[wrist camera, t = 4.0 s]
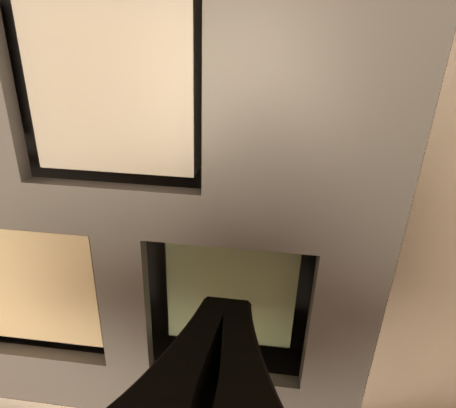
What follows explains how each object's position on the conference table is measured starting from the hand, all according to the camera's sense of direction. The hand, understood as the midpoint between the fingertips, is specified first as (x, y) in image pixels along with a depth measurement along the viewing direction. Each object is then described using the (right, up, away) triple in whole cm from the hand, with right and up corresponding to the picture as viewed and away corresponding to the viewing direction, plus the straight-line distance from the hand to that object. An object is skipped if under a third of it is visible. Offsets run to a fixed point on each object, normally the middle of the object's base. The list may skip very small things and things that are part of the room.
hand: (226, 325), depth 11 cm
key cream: (-3, +7, 0) cm, 8 cm away
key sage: (0, +1, +3) cm, 3 cm away
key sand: (-6, +1, +3) cm, 7 cm away
